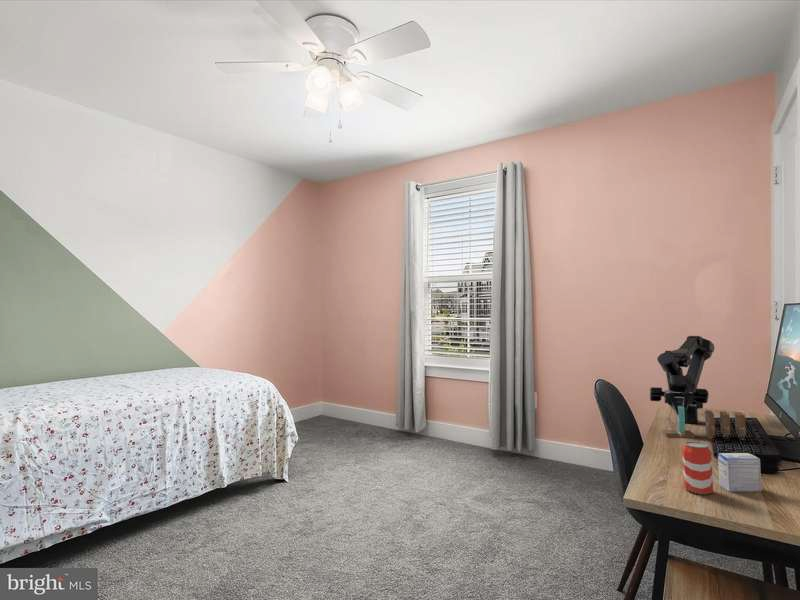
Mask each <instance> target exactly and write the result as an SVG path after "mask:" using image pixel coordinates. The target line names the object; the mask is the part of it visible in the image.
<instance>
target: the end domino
mask: <svg viewBox="0 0 800 600" xmlns="http://www.w3.org/2000/svg"><path fill="white" fill-rule="evenodd" d="M677 407H678V412H679V414H678V415H677V414H676V420H677V421H676V422H677V423H676V424H677V430H678V431H679V432H680V433H685V430H686V423H685V411H684V407H683V406H682V405H677Z"/></svg>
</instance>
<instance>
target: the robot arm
mask: <svg viewBox="0 0 800 600" xmlns="http://www.w3.org/2000/svg"><path fill="white" fill-rule="evenodd" d="M714 352H715V344H714V343H713V342H712V341H711V340H709V339H706V338H703V337H702V336H700V335H688V336H687V337H686V340H685V341H684V342H683V343H682V345H680V347H679V348H678V349H673V350H665V351H664V352H663V353H660V354H659V355H658V356H657V362H658V364H659V366H660V368H661V369H662V371H663V372H665V374H666V382H667V389H664V391H663V388H662V387H660V386H659V387H656V386H651V387H650V388H649V400H650V401H651V402H660V401H662V397H663V398H664V404H668V406H670V407H671V408H672V410H673V411H674V413H675V414H676V416H677V415H678V414H679V412H678V407H677V405H682V406H683V407H684V411H685V424H696V425H698V424H699V425H700V424H702V422H701V421H700V420H699V411H698V410H699V409H703V408H704V404H707V403H708V399H709V391H708V390H707V389H706V388H698V385H699V382H700V378H701V376H702V372H703V367H704V365H705V362H706V361H707V360H708V359H711V357H712V355H713V353H714ZM683 368H688V369H687V371H686V374H685V375H684V372H683V371H684V370H683Z"/></svg>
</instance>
